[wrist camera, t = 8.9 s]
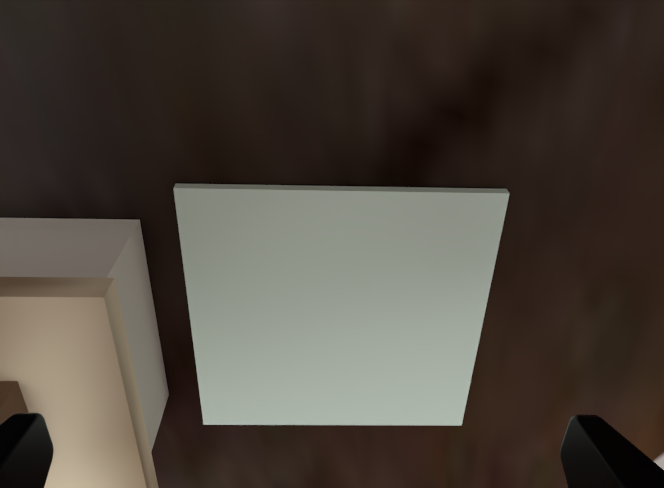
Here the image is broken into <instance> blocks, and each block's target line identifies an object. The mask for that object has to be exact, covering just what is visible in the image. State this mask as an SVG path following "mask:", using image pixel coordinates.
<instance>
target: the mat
mask: <svg viewBox="0 0 664 488" xmlns="http://www.w3.org/2000/svg"><path fill="white" fill-rule="evenodd" d="M173 189H174V197H175V205H176V213H177V221H178V228H179V236H180V244H181V252H182V260H183V268H184V275H185V283H186V291H187V299H188V307H189V315H190V322H191V330H192V338H193V346H194V354H195V362H196V369H197V377H198V385H199V393H200V401H201V408H202V416H203V424H204V425H462V421H463V416H464V411H465V407H466V402H467V397H468V392H469V387H470V382H471V378H472V373H473V368H474V363H475V358H476V353H477V349H478V344H479V339H480V334H481V329H482V325H483V320H484V315H485V310H486V305H487V300H488V296H489V291H490V286H491V281H492V276H493V271H494V267H495V262H496V257H497V252H498V247H499V242H500V238H501V233H502V228H503V223H504V218H505V213H506V209H507V204H508V199H509V194H510V193H509V192H508V190H507V189H490V188H428V187H366V186H303V185H241V184H179V183H176V184H175V186H174V188H173Z"/></svg>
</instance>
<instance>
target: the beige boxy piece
mask: <svg viewBox="0 0 664 488" xmlns="http://www.w3.org/2000/svg"><path fill="white" fill-rule="evenodd" d="M0 277H95V278H115V281H116V286H117V291H118V296H119V301H120V306H121V310H122V315H123V320H124V325H125V330H126V334H127V339H128V344H129V349H130V354H131V359H132V363H133V368H134V373H135V378H136V383H137V387H138V392H139V397H140V402H141V407H142V411H143V416H144V421H145V426H146V431H147V436H148V440H149V445H150V450H151V451H152V448H153V445H154V441H155V438H156V435H157V432H158V428H159V425H160V422H161V419H162V415H163V412H164V409H165V405H166V402H167V399H168V396H169V393H168V386H167V380H166V374H165V368H164V362H163V356H162V350H161V344H160V338H159V332H158V326H157V320H156V314H155V308H154V302H153V296H152V290H151V284H150V278H149V272H148V266H147V260H146V254H145V248H144V242H143V236H142V230H141V224H140V220H130V219H59V218H0Z"/></svg>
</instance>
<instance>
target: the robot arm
mask: <svg viewBox="0 0 664 488" xmlns="http://www.w3.org/2000/svg"><path fill="white" fill-rule="evenodd" d="M53 451H54V450H53V443H52V440H51V437H50V434H49V431H48V428H47V425H46V422H45V419H44V417H43V416H42V415H41V414H40V413H16V414H14V415H12V416H10V417H9V418H8V419H6V420H5V421H4V422H2V423H1V424H0V488H44V486H45V483H46V480H47V476H48V473H49V469H50V466H51V463H52V459H53ZM561 461H562V465H563V469H564V472H565V476H566V480H567V484H568V488H664V470H663V469H662V468H660V467H659V466H658V465H657V464H656V463H654V462H653V461H652V460H651V459H650V458H648V457H647V456H646V455H645V454H644V453H643V452H641V451H640V450H639V449H638V448H637V447H635V446H634V445H633V444H632V443H631V442H629V441H628V440H627V439H626V438H625V437H623V436H622V435H621V434H620V433H619V432H617V431H616V430H615V429H614V428H613V427H612V426H610V425H609V424H608V423H607V422H606V421H604V420H603V419H602V418H600V417H599V416H596V415H574V416H573V417H572V418H571V419H570V422H569V425H568V427H567V430H566V433H565V436H564V439H563V442H562V445H561Z"/></svg>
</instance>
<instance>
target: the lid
mask: <svg viewBox="0 0 664 488" xmlns="http://www.w3.org/2000/svg"><path fill="white" fill-rule="evenodd" d="M16 413H40V414H41V415H42V416H43V417H44V419H45V422H46V425H47V428H48V431H49V434H50V437H51V440H52V443H53V450H54V451H53V459H52V463H51V466H50V469H49V473H48V476H47V480H46V483H45V486H44V488H158V484H157V479H156V474H155V469H154V464H153V460H152V455H151V450H150V445H149V440H148V436H147V431H146V426H145V421H144V416H143V411H142V407H141V402H140V397H139V392H138V387H137V383H136V378H135V373H134V368H133V363H132V359H131V354H130V349H129V344H128V339H127V334H126V330H125V325H124V320H123V315H122V310H121V306H120V301H119V296H118V291H117V286H116V281H115V278H95V277H0V424H1V423H2V422H4V421H5V420H6V419H8V418H9V417H10V416H12V415H14V414H16Z"/></svg>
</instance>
